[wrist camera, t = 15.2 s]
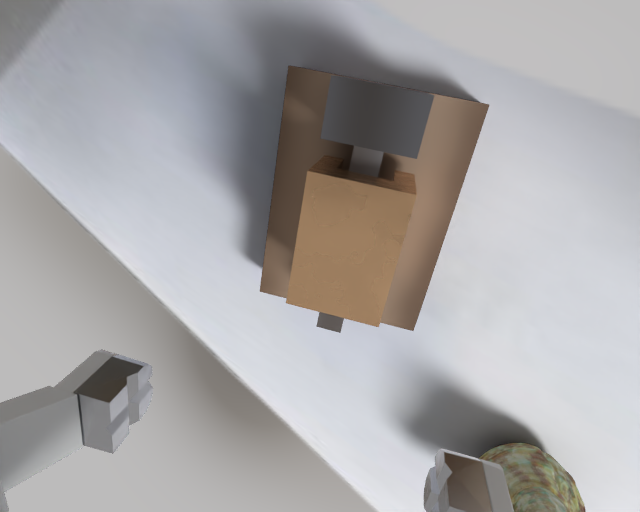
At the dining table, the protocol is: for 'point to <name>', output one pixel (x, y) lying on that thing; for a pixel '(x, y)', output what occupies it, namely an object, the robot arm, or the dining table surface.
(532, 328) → the dining table surface
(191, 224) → the dining table surface
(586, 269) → the dining table surface
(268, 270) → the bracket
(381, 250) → the slotted cardboard block
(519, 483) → the seashell
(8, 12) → the dining table surface
